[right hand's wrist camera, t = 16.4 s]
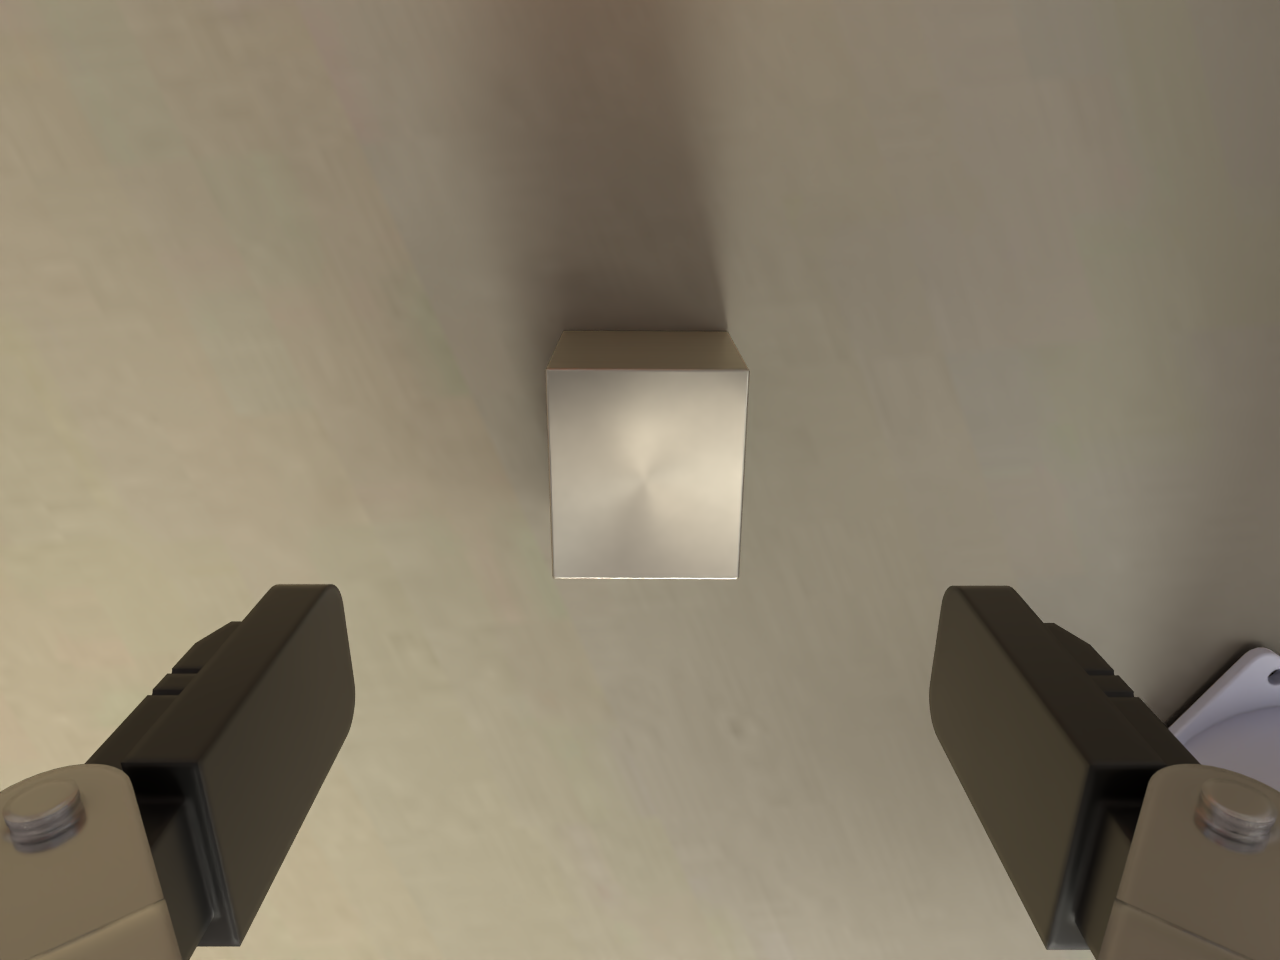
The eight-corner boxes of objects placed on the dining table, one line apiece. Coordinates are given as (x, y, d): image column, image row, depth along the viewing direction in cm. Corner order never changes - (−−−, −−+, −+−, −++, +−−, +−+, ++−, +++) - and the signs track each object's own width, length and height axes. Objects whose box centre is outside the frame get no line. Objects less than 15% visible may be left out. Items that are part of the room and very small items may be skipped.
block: (728, 330, 21) (750, 369, 17) (720, 507, 23) (739, 580, 19) (562, 330, 21) (544, 368, 17) (567, 507, 23) (552, 579, 19)
